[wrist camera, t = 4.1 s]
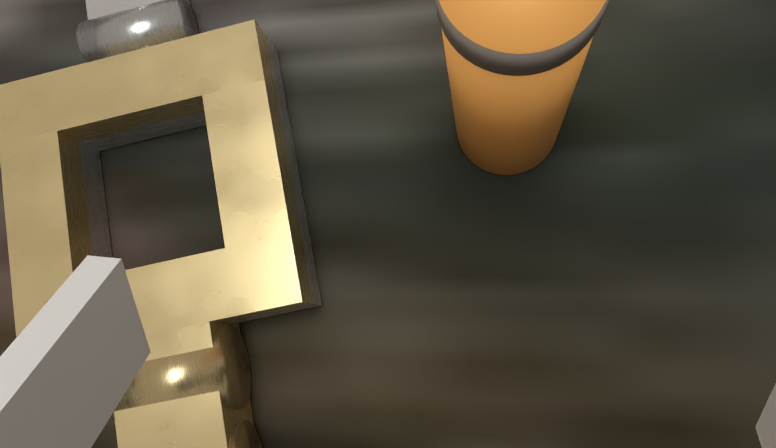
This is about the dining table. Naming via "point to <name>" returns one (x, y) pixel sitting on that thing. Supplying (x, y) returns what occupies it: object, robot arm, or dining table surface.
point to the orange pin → (514, 74)
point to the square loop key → (234, 191)
